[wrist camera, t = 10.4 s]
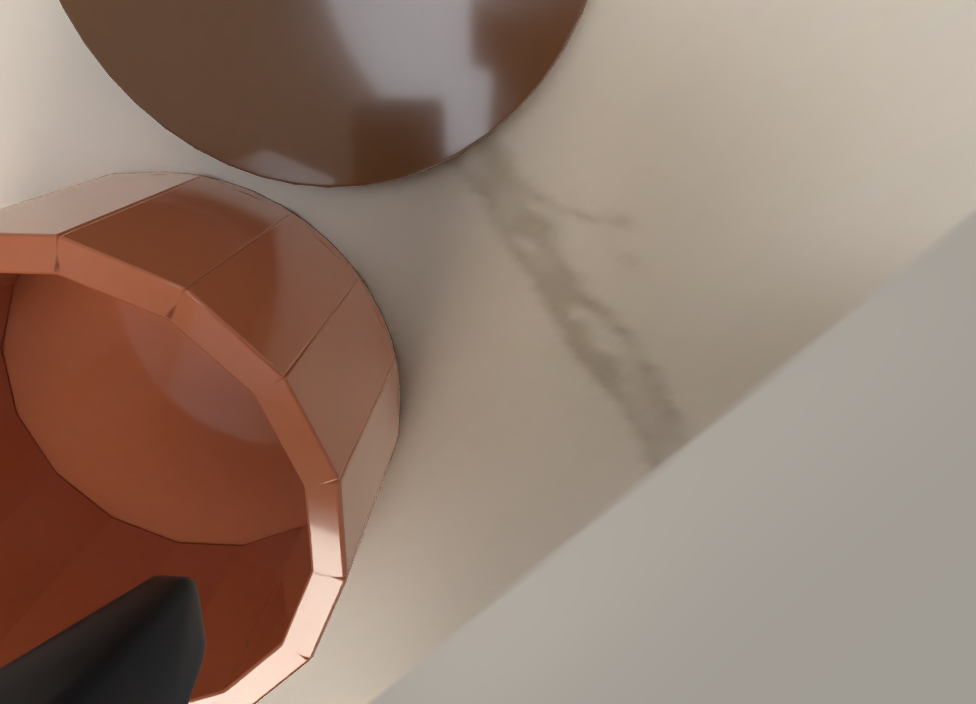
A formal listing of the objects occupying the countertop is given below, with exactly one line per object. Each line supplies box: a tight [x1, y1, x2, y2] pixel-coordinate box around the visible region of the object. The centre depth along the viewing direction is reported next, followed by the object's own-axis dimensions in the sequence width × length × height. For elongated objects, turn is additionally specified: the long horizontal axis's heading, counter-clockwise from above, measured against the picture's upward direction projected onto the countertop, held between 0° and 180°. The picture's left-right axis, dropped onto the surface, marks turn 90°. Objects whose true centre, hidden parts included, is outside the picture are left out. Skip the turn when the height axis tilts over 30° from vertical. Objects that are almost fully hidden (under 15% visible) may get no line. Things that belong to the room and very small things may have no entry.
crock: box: [0, 172, 400, 704], centre depth 18 cm, size 11×11×6 cm
